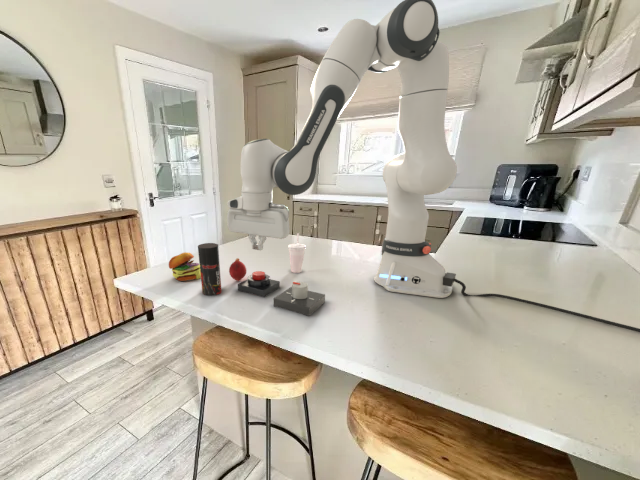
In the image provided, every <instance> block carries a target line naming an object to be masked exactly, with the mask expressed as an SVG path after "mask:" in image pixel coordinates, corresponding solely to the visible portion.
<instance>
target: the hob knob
mask: <svg viewBox="0 0 640 480" xmlns="http://www.w3.org/2000/svg"><path fill="white" fill-rule="evenodd" d="M291 287H292V297H293V298H295V299H306V298H307V297H308V291H309V284H308V282H305V281H293V282H292V284H291Z"/></svg>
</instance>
